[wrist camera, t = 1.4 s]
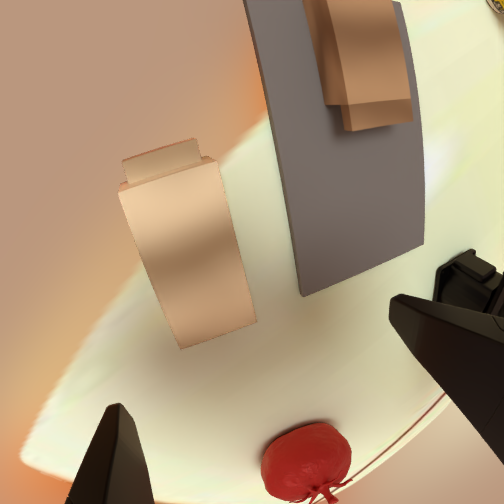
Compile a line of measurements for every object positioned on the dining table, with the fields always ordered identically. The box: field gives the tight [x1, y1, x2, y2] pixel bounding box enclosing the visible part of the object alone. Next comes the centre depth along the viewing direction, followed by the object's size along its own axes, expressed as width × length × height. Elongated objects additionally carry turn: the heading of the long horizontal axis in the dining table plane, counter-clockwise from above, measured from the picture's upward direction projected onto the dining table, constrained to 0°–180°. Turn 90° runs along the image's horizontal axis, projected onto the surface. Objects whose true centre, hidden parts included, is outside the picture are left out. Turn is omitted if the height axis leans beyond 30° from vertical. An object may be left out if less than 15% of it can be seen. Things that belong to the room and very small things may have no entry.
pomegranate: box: [261, 423, 353, 504], centre depth 28 cm, size 10×10×9 cm
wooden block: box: [302, 0, 413, 131], centre depth 16 cm, size 8×5×2 cm, turn 13°
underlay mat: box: [243, 0, 425, 297], centre depth 20 cm, size 20×12×1 cm, turn 13°
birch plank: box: [118, 138, 257, 349], centre depth 18 cm, size 11×5×2 cm, turn 13°
